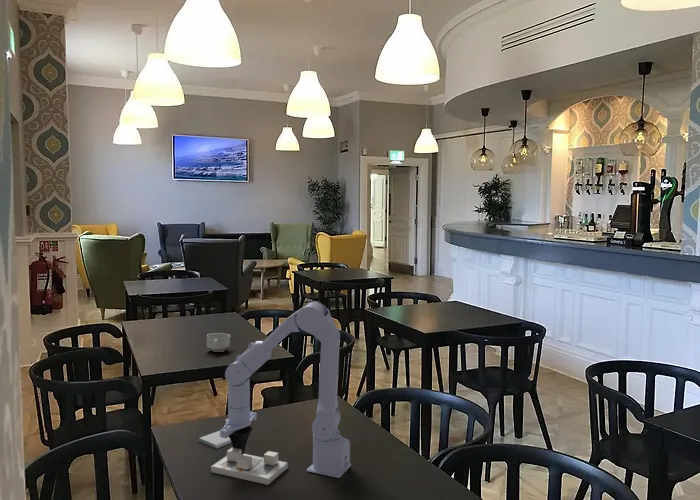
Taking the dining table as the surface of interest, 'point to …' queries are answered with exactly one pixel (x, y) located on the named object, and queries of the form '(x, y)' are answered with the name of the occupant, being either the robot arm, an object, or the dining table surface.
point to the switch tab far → (233, 454)
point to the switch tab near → (271, 458)
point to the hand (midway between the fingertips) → (239, 454)
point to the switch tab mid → (244, 462)
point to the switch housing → (250, 470)
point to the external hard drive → (215, 440)
